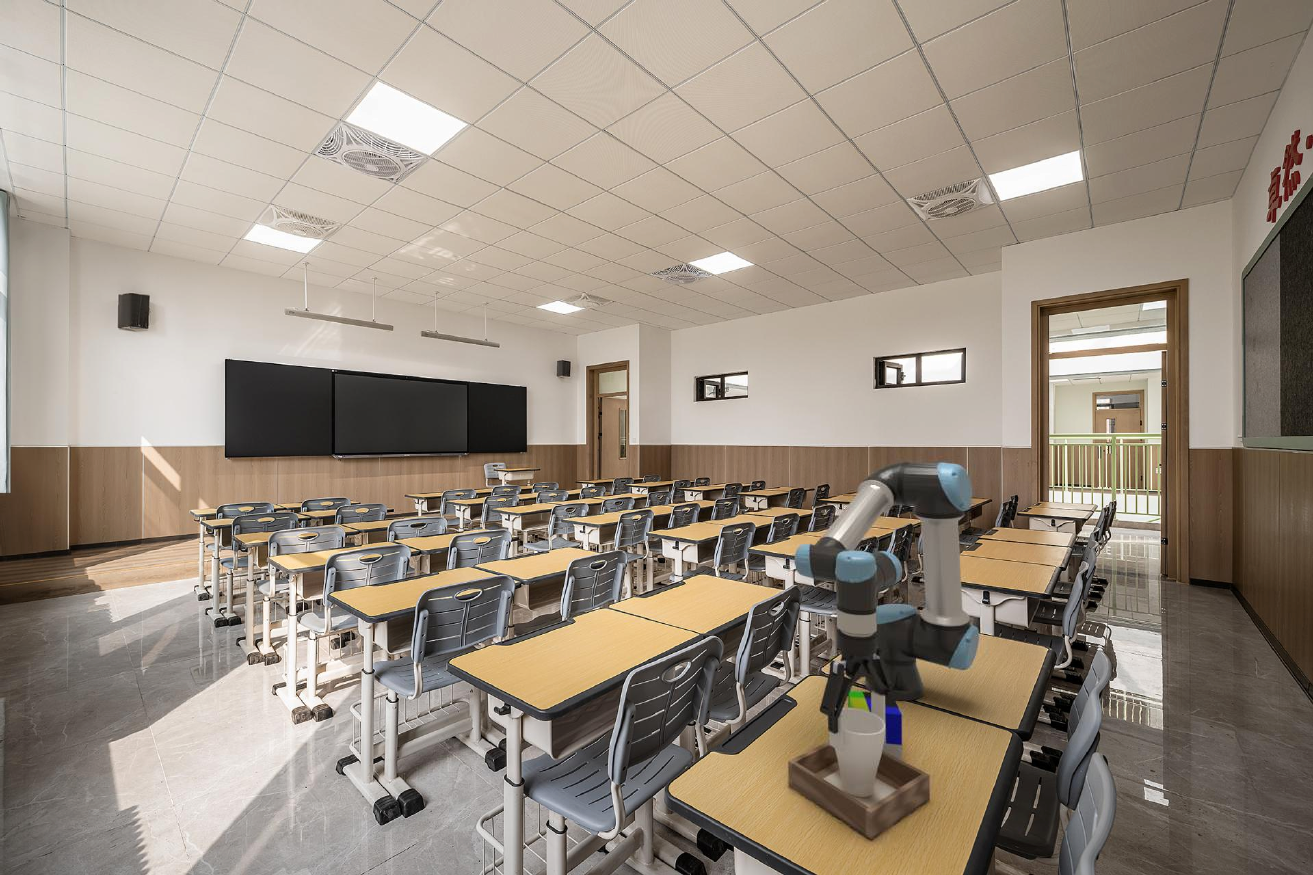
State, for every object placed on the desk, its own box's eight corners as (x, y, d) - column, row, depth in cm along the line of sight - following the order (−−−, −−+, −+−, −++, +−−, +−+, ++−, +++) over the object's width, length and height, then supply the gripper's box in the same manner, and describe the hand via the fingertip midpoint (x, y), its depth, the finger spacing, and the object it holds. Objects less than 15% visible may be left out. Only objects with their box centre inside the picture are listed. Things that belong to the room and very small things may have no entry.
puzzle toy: (902, 760, 122) (901, 714, 122) (854, 755, 124) (854, 710, 124) (892, 736, 132) (892, 693, 132) (848, 731, 134) (847, 690, 134)
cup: (880, 812, 103) (880, 740, 103) (823, 793, 109) (823, 724, 109) (890, 782, 112) (890, 716, 112) (837, 766, 118) (837, 703, 118)
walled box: (847, 754, 124) (846, 732, 124) (929, 800, 108) (929, 774, 108) (788, 785, 113) (788, 760, 113) (870, 840, 97) (870, 812, 97)
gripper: (877, 612, 121) (878, 709, 121) (799, 639, 107) (801, 748, 107) (909, 622, 115) (911, 723, 115) (831, 651, 100) (833, 767, 101)
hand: (858, 736), depth 111 cm, fingers open, 13 cm apart
